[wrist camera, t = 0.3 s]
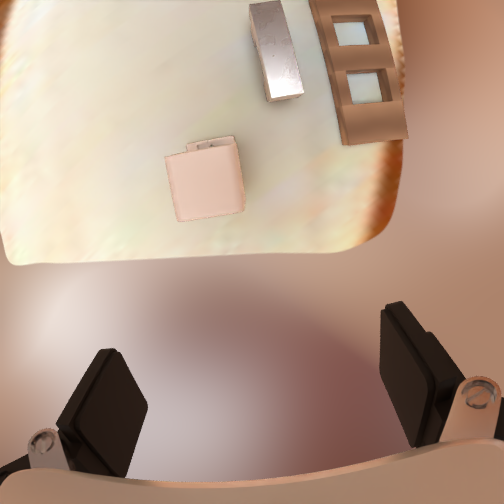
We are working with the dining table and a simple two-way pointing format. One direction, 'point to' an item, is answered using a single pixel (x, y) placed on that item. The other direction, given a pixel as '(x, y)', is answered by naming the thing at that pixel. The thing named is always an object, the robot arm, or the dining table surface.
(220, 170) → the security camera
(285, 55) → the grey rectangular block
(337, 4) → the wooden frame
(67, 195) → the dining table surface
